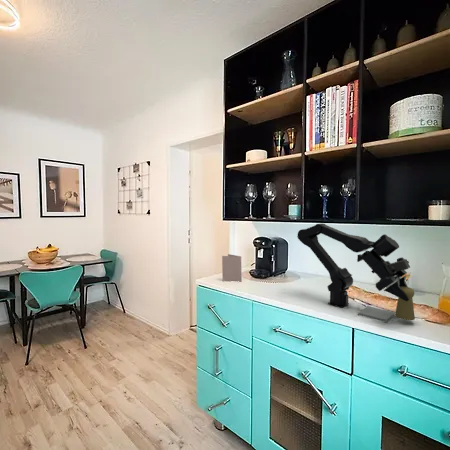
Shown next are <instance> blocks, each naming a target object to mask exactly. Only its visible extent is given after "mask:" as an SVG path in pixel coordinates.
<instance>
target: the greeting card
mask: <svg viewBox="0 0 450 450" xmlns="http://www.w3.org/2000/svg"><path fill="white" fill-rule="evenodd" d="M221 260H222V261H221V265H222V266H221V267H222V271H221V272H222V276H221V277H222V282H231V281H239V282H238V283H242V277H243V276H242V256H240V255H235V254H230V253H228V254H227V255H221Z"/></svg>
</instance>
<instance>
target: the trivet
mask: <svg viewBox="0 0 450 450" xmlns="http://www.w3.org/2000/svg"><path fill="white" fill-rule="evenodd" d="M395 313H396V311H391V310H386V309H381V308H378V307H374V306H369V305H367V306H366V307H364V308H362V309H361V310H360V311H358V314H357V315H358V316H360V317H363V318H364V317H365V318H368V319H372V320H376V321H380V322H383V323H388V322H389V321H390V320H391V319H393V317H395Z"/></svg>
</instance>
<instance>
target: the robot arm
mask: <svg viewBox="0 0 450 450" xmlns="http://www.w3.org/2000/svg"><path fill="white" fill-rule="evenodd" d="M319 235H324V236H327V237H328V238H330V239H333V240H334V241H337V242H339V243H342V244H343V245H344V246H345V247H346V248H348V249H349V250H350V251H351V252H354V253H357V257H356V258H357V259H356V260H357V261H356V262H357V263H359V262H361V261H363V262H365V264H366V265H367V266H368V267H369V268H370V269H371V271H370V272H371V273H372V274H376V276H377V277H378V278H379V281H377V282H376V283H375V288H376V290H378V291H379V292H381V291H382V290H383V291H384V292H387V293H389V294H391V295H392V296H393V295H394V296H395V297H397V298H398V297H399V298H401V299H403V300H405V301H408V300H409V298H408V297H407V295H406V294H405V293H404V291H403V290H402V289H401V287H409V286H408V284H407V283H406V278H407V274H408V272H407V271H406V270H408V269H410V268H411V266H410V261H409V260H408V259H407V258H404V257H399V258H397V259H396V261H395V262H390V261H389V260H385V259H384V258H383V257H385V258H387V257H388V256H390V255H391V254H392V253H394V252H396V250H398V249H399V248H400V245H399V243H398V242H397V241H396V240H395V239H393V238H392V237H390V236H388V235H387V234H385V233H383V234H382V235H381V236H380V237H379V238H378V239H377V240H376V241H372V240H369V239H368V238H366V237H364V236H359V235H354V234H348V233H346V232H343V231H341V230H338V229H336V228H334V227H332V226H329V225H328V224H326V223H324V222H322V223H316V224H315V225H313V226H310V227H307V228H303V229H302V228H301V229H300V230H298V232H297V236H296V237H297V239H298V241H300V242H301V243H302V244H303V245H304V246H306V247H308V248H310V250H311V252H312V253H313V254H314V255H315V257H316V258H317V259H318V260H319V262H320V264H322V265H323V267H324V268H325V269H326V271H327V272H328V273H329V278H330V281H331V283H329V284H328V285H327V287H326V288H327V289H328V292H329V302H327V303H328V305H330V306H335V307H339V308H341V309H342V308H346V306H348V305H349V294H348V290H349V289H350V288H351V286H353V285H354V279H353V274H351V273H350V272H349V271H348V269H347V268H346V267H344V268H341V267H339V265H338V264H337V263H336V261H334V259H333V258H332V256H331V255H329V253H328V252H327V250H326V249H325V248H324V246H322V245H321V244H320V242H319V237H318V236H319ZM369 249H371V250H369ZM361 252H363V253H361ZM358 253H360V254H358Z"/></svg>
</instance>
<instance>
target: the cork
mask: <svg viewBox="0 0 450 450" xmlns="http://www.w3.org/2000/svg"><path fill="white" fill-rule="evenodd" d="M401 289H402V290H403V291H404V293H405V294H406V295H407V297H408V298H409V300H408V301H405V300H403V299H401V298H399V297H397V298H398V299H397V302H396V308H395V315H394V317H396V318H397V319H401V320H405V321H414V320H415V319H416V316H415V307H414V299H413V297H414V296H415V290H414V288H411V287H409V286H408V287H401Z"/></svg>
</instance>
